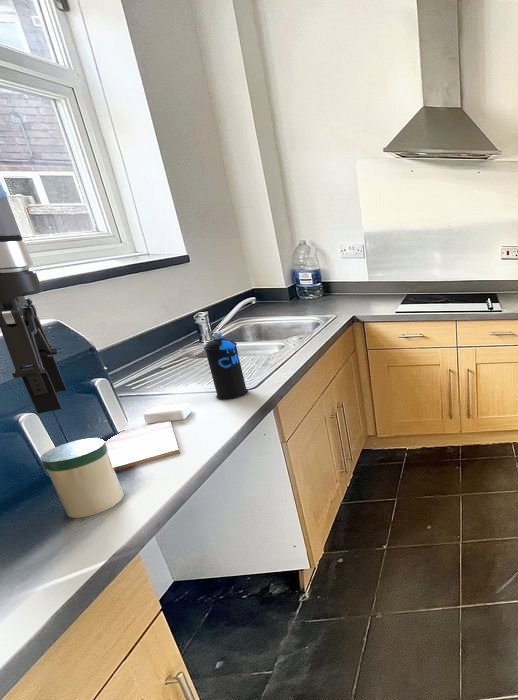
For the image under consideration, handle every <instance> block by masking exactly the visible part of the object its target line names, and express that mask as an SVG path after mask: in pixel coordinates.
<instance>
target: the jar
mask: <svg viewBox="0 0 518 700" xmlns="http://www.w3.org/2000/svg"><path fill="white" fill-rule="evenodd" d="M46 472H47V474H48V476H49V479H50V480H51V483H52V485H53V488H54V490H55V492H56V494H57V497H58V499H59V501H60V503H61V505H62V507H63V509H64V511H65V514H66V516H67V517H69V518H72V519H78V518H79V519H80V518H86V517H91V516H94V515H97V514H100V513H103V512H105V511H106V510H107V511H108V510H109V509H111V508H112V507H114V506H117V504H118V503H120V502H121V501H122V500H123V499H124V496H125V495H124V494H125V493H124V491H123V488H122V486H121V483H120V480H119V477H118V475H117V473H116V472H117V471H115V470H114V467H113V465H112V462H111V460H110V457H109V454H108V452H106V453H105V454H104V455H103V456H102V457H100V458H98V459H96V460H94V461H92V462H90V463H87V464H85V465H82V466H79V467H75V468H71V469H66V470H59V471H49V470H46Z"/></svg>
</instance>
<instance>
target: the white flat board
mask: <svg viewBox="0 0 518 700" xmlns="http://www.w3.org/2000/svg"><path fill="white" fill-rule="evenodd" d="M119 432H120V433H119ZM119 432H118V433H119V434H117V435H115V436H113V437H111V438H110V439H108V440H107V441H105V444H106V446H107V449H108V450H107V452H108V454H109V457H110V460H111V462H112V465H113V467H114V470H115V472H118V471H121V470H125V469H128V468H131V467H135V466H139V465H142V464H145V463H149V462H152V461H155V460H160V459H163V458H166V457H170V456H173V455H177V454H180V452H181V451H180V447H179V444H178V441H177V438H176V434H175V431H174V428H173V424H172V421H170V420H167V421H163V422H158V423H150V424H147V425H143V426H139V427H135V428H130V429H127V430H122V431H119Z"/></svg>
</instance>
